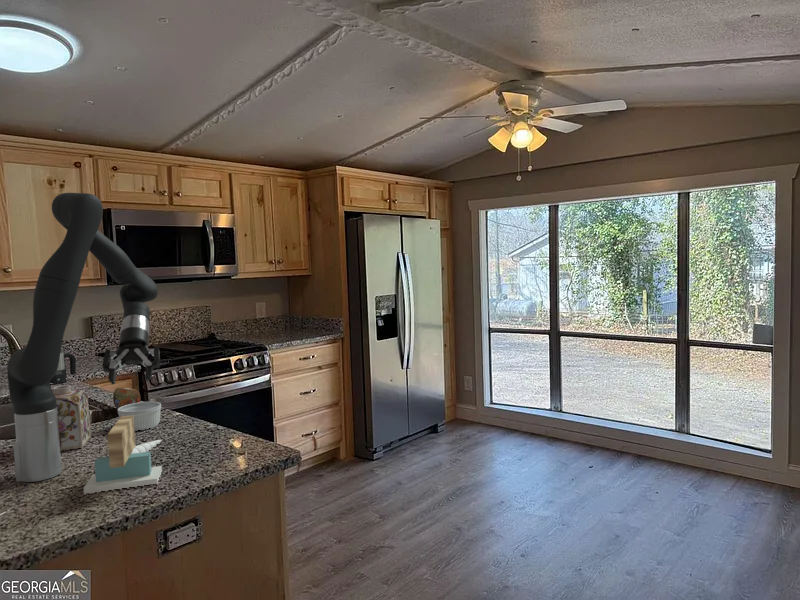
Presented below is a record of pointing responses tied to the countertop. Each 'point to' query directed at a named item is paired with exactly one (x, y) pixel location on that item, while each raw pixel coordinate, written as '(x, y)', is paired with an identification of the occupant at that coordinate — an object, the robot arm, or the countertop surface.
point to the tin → (125, 397)
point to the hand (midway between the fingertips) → (130, 381)
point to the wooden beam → (121, 441)
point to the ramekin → (142, 414)
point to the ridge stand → (123, 474)
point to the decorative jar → (72, 417)
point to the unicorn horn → (145, 447)
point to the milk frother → (64, 368)
